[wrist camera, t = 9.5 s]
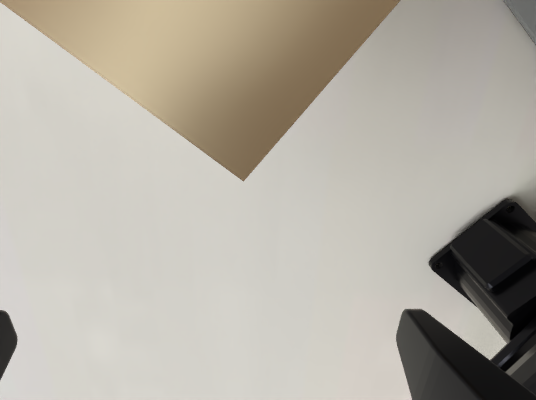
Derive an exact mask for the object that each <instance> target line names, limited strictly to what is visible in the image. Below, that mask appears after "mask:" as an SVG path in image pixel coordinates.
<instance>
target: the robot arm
mask: <svg viewBox="0 0 536 400" xmlns="http://www.w3.org/2000/svg"><path fill="white" fill-rule="evenodd" d="M509 206H510V208H509V209H507V208H508V207H509ZM437 263H439V264H438V265H436V264H437ZM429 266H430V267H431V269H432V270H433V271H434V272H435V273H436V274H438V275H439V276H440V277H441V278H442V279H444V280H445V281H446V282H447V283H449V284H450V285H451V286H452V287H453V288H455V289H456V290H457V291H458V292H459V293H461V294H462V295H463V296H464V297H465V298H467V299H468V300H469V301H470V302H472V303H473V304H474V305H475V306H476V307H478V308H479V309H480V311H481V312H482V313H483V314H484V316H485V317H486V318H487V319H488V321H489V322H490V323H491V324H492V326H493V327H494V328H495V329H496V330H497V332H498V333H499V334H500V335H501V337H502V338H503V339H504V340H505V342H506V343H507V344H506V345H505V346H504V347H503V348H502V349H501V350H500V351H499V352H498V353H497V354H496V355H495V356H494V357H493V358H492V359H491V360H489V359H487V358H486V357H485V356H483V355H482V354H481V353H479V352H478V351H477V350H475V349H474V348H473V347H471V346H470V345H469V344H468V343H466V342H465V341H464V340H462V339H461V338H460V337H458V336H457V335H456V334H454V333H453V332H452V331H450V330H449V329H448V328H446V327H445V326H444V325H443V324H441V323H440V322H439V321H437V320H436V319H435V318H433V317H432V316H431V315H429V314H428V313H427V312H425V311H424V310H422V309H405V310H404V311H403V312H402V315H401V319H400V322H399V326H398V330H397V334H396V342H397V346H398V350H399V354H400V357H401V361H402V364H403V368H404V372H405V375H406V379H407V382H408V386H409V389H410V393H411V397H412V400H536V223H535V222H534V220H533V219H532V218H531V217H530V216H529V215H528V214H527V213H526V212H525V211H524V210H523V209H522V208H521V207H520V206H519V205H518V204H517V203H516V202H514V201H513V200H511V199H507V200H504V201H502V202H501V203H500V204H499V205H497V206H496V207H495V208H494V209H492V210H491V211H490V212H489V213H487V214H486V215H485V216H484V217H482V218H481V219H480V220H479V221H477V222H476V223H475V224H474V225H472V226H471V227H470V228H469V229H468V230H466V231H465V232H464V233H463V234H461V235H460V236H459V237H458V238H456V239H455V240H454V241H453V242H451V243H450V244H449V245H448V246H446V247H445V248H444V249H443V250H441V251H440V252H439V253H438V254H436V255H435V256H434V257H433V258H431V260H430V261H429ZM16 345H17V334H16V332H15V329H14V327H13V324H12V322H11V319H10V317H9V315H8V313H7V312H6V311H3V310H0V380H1V378H2V376H3V374H4V372H5V369H6V367H7V365H8V363H9V361H10V359H11V357H12V355H13V353H14V351H15V348H16Z"/></svg>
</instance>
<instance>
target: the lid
mask: <svg viewBox="0 0 536 400" xmlns="http://www.w3.org/2000/svg"><path fill="white" fill-rule="evenodd" d="M399 1H400V0H0V2H1V3H2V4H4V5H5V6H6V7H8V8H9V9H10V10H12V11H13V12H14V13H16V14H17V15H19V16H20V17H21V18H23V19H24V20H25V21H27V22H28V23H29V24H31V25H32V26H33V27H35V28H36V29H38V30H39V31H40V32H42V33H43V34H44V35H46V36H47V37H48V38H50V39H51V40H52V41H54V42H55V43H57V44H58V45H59V46H61V47H62V48H63V49H65V50H66V51H67V52H69V53H70V54H71V55H73V56H74V57H76V58H77V59H78V60H80V61H81V62H82V63H84V64H85V65H86V66H88V67H89V68H90V69H92V70H93V71H94V72H96V73H97V74H99V75H100V76H101V77H103V78H104V79H105V80H107V81H108V82H109V83H111V84H112V85H113V86H115V87H116V88H118V89H119V90H120V91H122V92H123V93H124V94H126V95H127V96H128V97H130V98H131V99H132V100H134V101H135V102H137V103H138V104H139V105H141V106H142V107H143V108H145V109H146V110H147V111H149V112H150V113H151V114H153V115H154V116H156V117H157V118H158V119H160V120H161V121H162V122H164V123H165V124H166V125H168V126H169V127H170V128H172V129H173V130H175V131H176V132H177V133H179V134H180V135H181V136H183V137H184V138H185V139H187V140H188V141H189V142H191V143H192V144H193V145H195V146H196V147H198V148H199V149H200V150H202V151H203V152H204V153H206V154H207V155H208V156H210V157H211V158H212V159H214V160H215V161H217V162H218V163H219V164H221V165H222V166H223V167H225V168H226V169H227V170H229V171H230V172H231V173H233V174H234V175H236V176H237V177H238V178H240V179H241V180H242V181H244V180H245V179H246V178H247V177H248V176H249V174H250V173H251V172H252V171H253V170H254V169H255V167H256V166H257V165H258V164H259V163H260V162H261V161H262V159H263V158H264V157H265V156H266V155H267V154H268V152H269V151H270V150H271V149H272V148H273V147H274V146H275V144H276V143H277V142H278V141H279V140H280V139H281V137H282V136H283V135H284V134H285V133H286V132H287V131H288V129H289V128H290V127H291V126H292V125H293V124H294V122H295V121H296V120H297V119H298V118H299V117H300V116H301V114H302V113H303V112H304V111H305V110H306V109H307V107H308V106H309V105H310V104H311V103H312V102H313V101H314V99H315V98H316V97H317V96H318V95H319V94H320V92H321V91H322V90H323V89H324V88H325V87H326V86H327V84H328V83H329V82H330V81H331V80H332V79H333V77H334V76H335V75H336V74H337V73H338V72H339V71H340V69H341V68H342V67H343V66H344V65H345V64H346V62H347V61H348V60H349V59H350V58H351V57H352V56H353V54H354V53H355V52H356V51H357V50H358V49H359V48H360V46H361V45H362V44H363V43H364V42H365V41H366V39H367V38H368V37H369V36H370V35H371V34H372V33H373V31H374V30H375V29H376V28H377V27H378V26H379V24H380V23H381V22H382V21H383V20H384V19H385V18H386V16H387V15H388V14H389V13H390V12H391V11H392V9H393V8H394V7H395V6H396V5H397V4H398V3H399Z"/></svg>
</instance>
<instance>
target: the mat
mask: <svg viewBox="0 0 536 400" xmlns="http://www.w3.org/2000/svg"><path fill="white" fill-rule="evenodd" d="M504 2H505V3H506V4H507V6H508V7H509V8H510V10H511V11H512V13H513V14H514V15H515V17H516V18H517V19H518V21H519V22H520V24H521V25H522V26H523V28H524V29H525V30H526V32H527V33H528V35H529V36H530V37H531V39H532V40H533V41H534V43H535V44H536V0H504Z"/></svg>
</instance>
